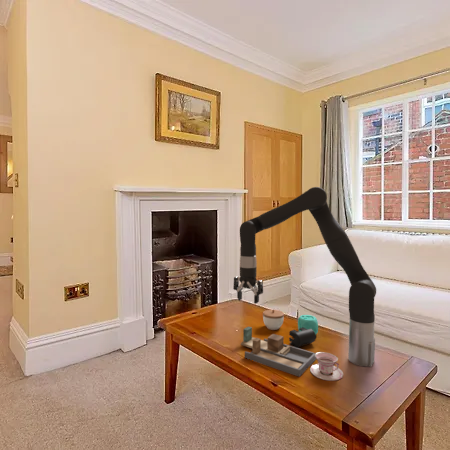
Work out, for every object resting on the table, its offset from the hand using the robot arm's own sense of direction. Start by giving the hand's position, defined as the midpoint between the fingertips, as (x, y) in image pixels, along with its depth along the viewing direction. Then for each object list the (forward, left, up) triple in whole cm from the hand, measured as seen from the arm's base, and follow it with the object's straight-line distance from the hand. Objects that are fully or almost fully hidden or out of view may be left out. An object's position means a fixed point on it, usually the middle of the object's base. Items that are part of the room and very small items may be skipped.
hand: (247, 301), depth 142 cm
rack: (-18, +3, -20) cm, 27 cm away
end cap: (-20, -15, -20) cm, 32 cm away
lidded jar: (0, -25, -20) cm, 32 cm away
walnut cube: (-14, 0, -18) cm, 23 cm away
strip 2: (-18, +8, -20) cm, 28 cm away
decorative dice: (-17, -29, -20) cm, 39 cm away
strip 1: (-9, 0, -20) cm, 22 cm away
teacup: (-37, +2, -20) cm, 42 cm away
